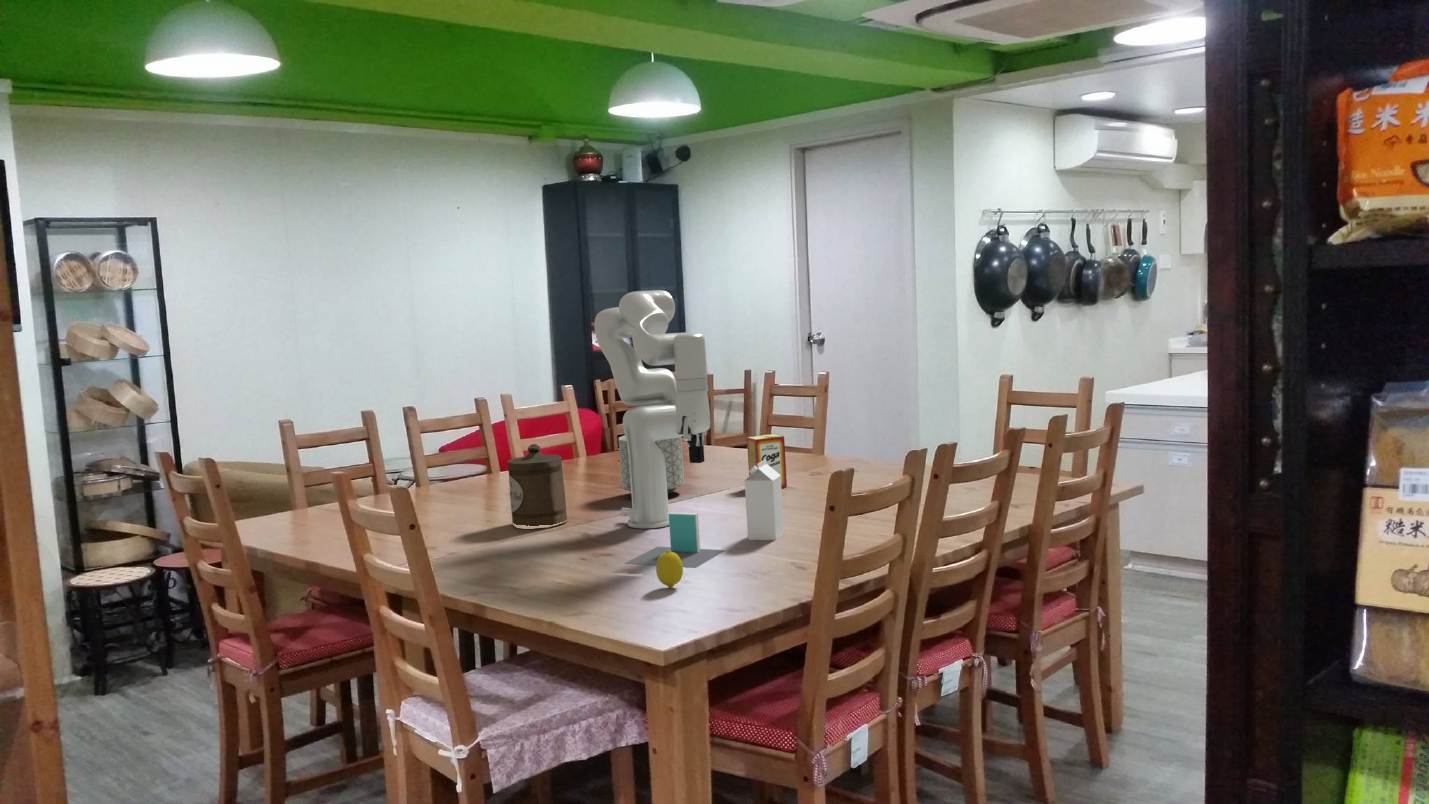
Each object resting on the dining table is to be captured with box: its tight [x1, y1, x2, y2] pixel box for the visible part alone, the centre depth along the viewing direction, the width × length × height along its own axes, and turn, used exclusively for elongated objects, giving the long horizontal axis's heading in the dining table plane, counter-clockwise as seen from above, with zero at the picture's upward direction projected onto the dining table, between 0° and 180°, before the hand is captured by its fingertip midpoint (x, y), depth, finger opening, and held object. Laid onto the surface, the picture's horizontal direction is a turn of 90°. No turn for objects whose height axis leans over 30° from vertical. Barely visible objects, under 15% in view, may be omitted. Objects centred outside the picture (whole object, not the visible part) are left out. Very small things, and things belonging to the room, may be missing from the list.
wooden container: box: [507, 443, 568, 526], centre depth 299 cm, size 15×15×22 cm
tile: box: [668, 512, 701, 553], centre depth 255 cm, size 7×2×9 cm, turn 65°
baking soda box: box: [746, 433, 788, 489], centre depth 332 cm, size 10×6×16 cm
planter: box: [617, 435, 685, 496], centre depth 331 cm, size 19×19×18 cm
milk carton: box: [744, 459, 785, 541], centre depth 265 cm, size 7×7×19 cm
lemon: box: [655, 550, 684, 589], centre depth 226 cm, size 6×6×8 cm
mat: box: [623, 546, 727, 569], centre depth 251 cm, size 18×16×1 cm
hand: (697, 462), depth 261 cm, fingers closed
